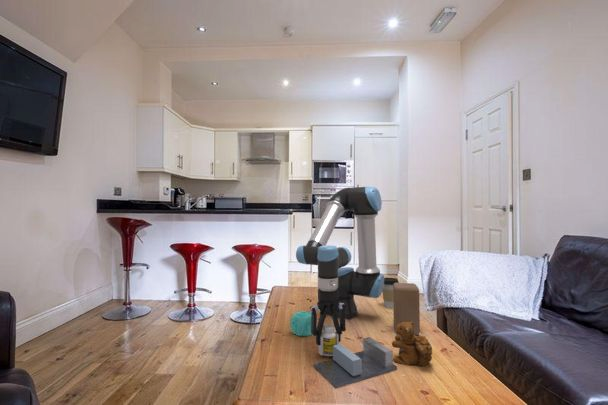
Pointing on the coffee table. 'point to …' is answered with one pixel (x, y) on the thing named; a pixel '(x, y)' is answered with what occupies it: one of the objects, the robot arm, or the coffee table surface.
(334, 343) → the supplement bottle
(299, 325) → the decorative dice
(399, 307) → the block
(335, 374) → the vise base
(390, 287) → the coffee cup
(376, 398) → the coffee table surface
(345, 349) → the sliding jaw
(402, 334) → the stuffed squirrel
